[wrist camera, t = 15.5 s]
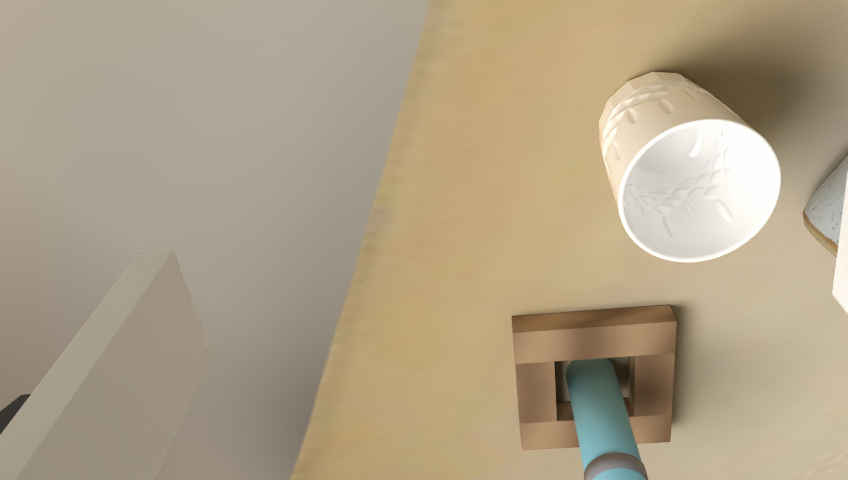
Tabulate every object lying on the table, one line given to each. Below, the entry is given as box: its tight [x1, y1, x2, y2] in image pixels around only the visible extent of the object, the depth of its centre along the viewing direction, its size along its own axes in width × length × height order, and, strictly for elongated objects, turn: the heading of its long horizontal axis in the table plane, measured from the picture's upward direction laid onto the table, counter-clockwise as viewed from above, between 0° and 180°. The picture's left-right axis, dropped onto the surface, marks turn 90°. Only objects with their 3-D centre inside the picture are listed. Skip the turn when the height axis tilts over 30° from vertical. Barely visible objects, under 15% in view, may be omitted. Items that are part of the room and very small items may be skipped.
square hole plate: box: [512, 305, 677, 450], centre depth 54 cm, size 11×11×2 cm
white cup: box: [599, 72, 781, 262], centre depth 41 cm, size 8×8×10 cm
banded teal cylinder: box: [566, 358, 648, 480], centre depth 50 cm, size 4×4×12 cm
